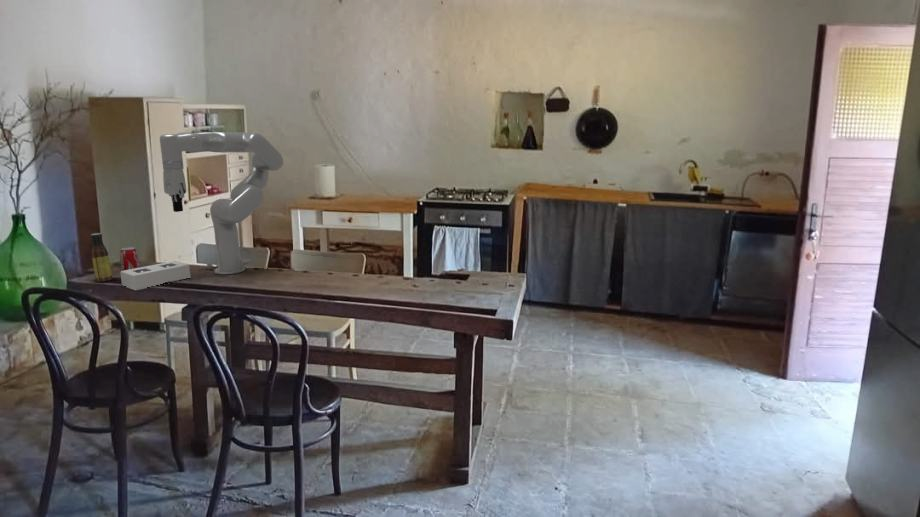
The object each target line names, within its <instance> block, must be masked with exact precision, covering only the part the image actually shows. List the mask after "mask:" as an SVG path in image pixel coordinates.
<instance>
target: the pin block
mask: <svg viewBox="0 0 920 517" xmlns="http://www.w3.org/2000/svg"><path fill="white" fill-rule="evenodd" d="M166 264H174V265H175V266H171V267H166V268H164V267H162V266H163V265H166ZM141 269H148V271H146V272H141V273H136V272H135V271H136V270H141ZM186 278H192V277H191V269H190V264H188V263H184V262H181V261H178V260H171V261H168V262H162V263H158V264H157V263H155V264H152V265H146V266H140V268H135V269H130V270H124V271H122V270H121V271H120V279H121V286H122V285H123V286H122V287H124V286H126V287H125V288H127V289H130V290H133V291H134V292H135V291H140V290H144V289H148V288H147V287H150V288H152V287H151V286H154V287H157V286H156V285H159V286H161V285H160V284H163V283H165V282H168V281H173V280H179V279H186Z"/></svg>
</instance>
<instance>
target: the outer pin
mask: <svg viewBox="0 0 920 517" xmlns="http://www.w3.org/2000/svg"><path fill="white" fill-rule="evenodd" d="M146 271H148V269H141V270H136V271H135V272H136V273H141V272H146Z"/></svg>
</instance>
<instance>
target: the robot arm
mask: <svg viewBox="0 0 920 517" xmlns="http://www.w3.org/2000/svg"><path fill="white" fill-rule="evenodd" d="M159 143H160V144H159V145H160V146H159V147H160V152H161V153H160V154H161V162H162V170H163V171H162V175H163V177H162V180H163V191H164V193H165V194H166V195H168V196H169V197H170V198H171V203H172V209H173V212H175V213H179V212H183V211H184V207H183V198H185V194H186V193H187V184H186V183H187V182H186V178H185V173H184V169H185V168H184V159H183V152H189V153H195V152H208V153H209V152H210V153H221V154H225V153H228V154H229V153H253V154H252V156H251V170H250V173H249V174H248V175H247V176H246V177H245V178H244V179H243V180H241V181H240V182H239V183H238V184H236V185H235V186H234V187H233V188H232V190H231V191H230V199H227V198H218V199H216V200H215V201H213V202H212V204H211V205H210V209H209V214H210V217H211V220H212V224H213V230H214V242H215V251H216V259H217V260H216V261H217V268H215V269H214V273H215V274H218V275H233V274H239V273H242V272H245V270H246V267H245V265H248V264H249V265H250V264H251V263H252V260H251V258H248V259H241V252H240V251H241V250H240V239H239V230H238V226H237V224H239V223H241V222H243V221H244V220H246V219H247V218H248V217H249V216H250V215H251V214H253V212H255V211H256V210H257V209H258V208H259V207H260V206H261V205H262V204H263V202H264V198H265V194H264V188H265V187H266V186H267V185H268V183H269V175H270V174H269V171H270V172H271V171H272V172H274V171H278V170H280V169H281V168H282V167H283V164H284V158H283V156H282V154H281V153H280V151H279V150H278V149H277V148H275V147H274V145H273V143H272V144H271V142H270V141H269V140H268V139H266V137H265V136H263V135H262V134H260V133H258V132H242V131H241V132H239V131H238V132H237V131H235V132H234V131H233V132H231V131H213V132H211V131H210V132H178V133H170V134H169V133H167V134H161V135H160V136H159Z"/></svg>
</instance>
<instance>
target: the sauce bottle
mask: <svg viewBox="0 0 920 517" xmlns="http://www.w3.org/2000/svg"><path fill="white" fill-rule="evenodd" d="M90 239H91V241H92V248H91V251H90V254H91V260H92V265H93V270H94V271H93V272H94V278H95V280H96V282H99V283H103V282H109V281H111V280H113V271H112V267H111V260H110V256H109V252H108V250H107V248H106V246H105V244H104V242H103V235H102V233H101V232H95V233H91V234H90Z"/></svg>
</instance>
